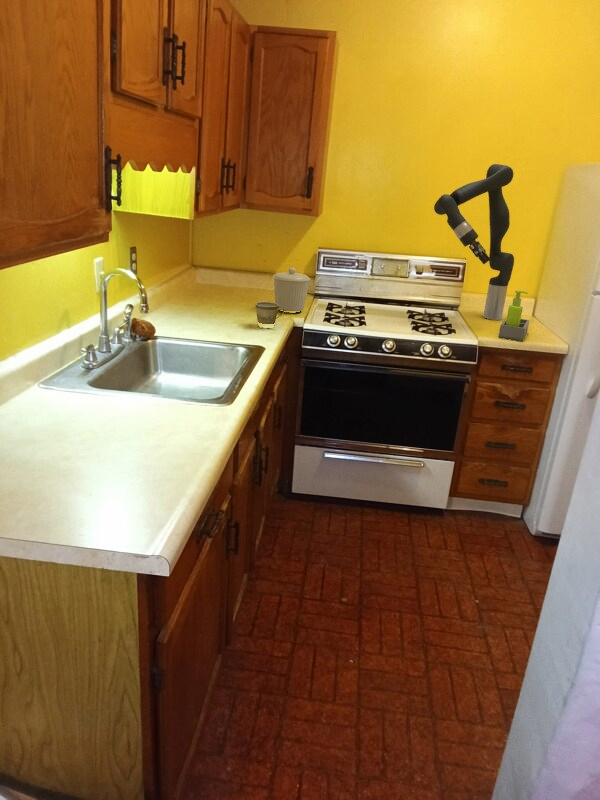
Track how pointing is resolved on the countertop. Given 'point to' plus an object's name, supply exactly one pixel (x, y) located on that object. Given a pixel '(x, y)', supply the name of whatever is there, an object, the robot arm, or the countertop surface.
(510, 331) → the caddy
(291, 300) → the canister
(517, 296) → the soap dispenser
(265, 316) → the ceramic cup
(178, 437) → the countertop surface
